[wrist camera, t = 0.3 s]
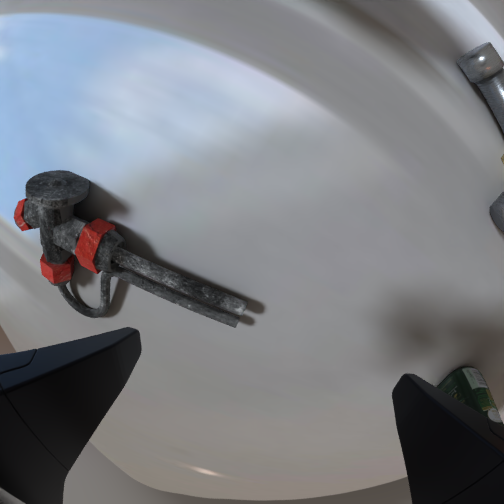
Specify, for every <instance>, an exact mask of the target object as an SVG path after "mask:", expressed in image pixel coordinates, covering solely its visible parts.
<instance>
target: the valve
mask: <svg viewBox="0 0 504 504" xmlns="http://www.w3.org/2000/svg"><path fill="white" fill-rule="evenodd" d="M89 185H90V184H89V181H88V180H87V179H86V178H83V177H81V176H79V175H77V174H74V173H72V172H70V171H61V170H58V171H48V172H44V173H40V174H38V175H35V176H34V177H32V178H31V179H29V181H28V182H27V184H26V197H27V198H26V199H23V200H21V201H19V202H18V205H17V207H16V209H15V212H14V219H15V223H16V225H17V226H18V227H19V228H20V229H21V231H25V230H29V229H33V228H34V229H35V228H39V227H40V239H41V245H42V247H43V255H42V257H41V259H40V263H41V271H42V275H43V276H44V277H46V278H47V279H48V280H49V282H50V283H51V284H52V285H54V286H58V288H59V290H60V292H61V294H62V296H63V297H64V298H65V300H66V301H67V302H68V303H69V304H70V306H72V307H73V308H74V309H75V310H76V311H78V312H79V313H81V314H83V315H85V316H87V317H91V318H98V317H102V316H103V315H105V314H106V313H107V311H108V309H109V304H110V280H111V277H113V276H115V277H118V278H120V279H122V280H125V281H127V282H129V283H131V284H133V285H135V286H137V287H139V288H141V289H144V290H146V291H148V292H150V293H152V294H154V295H157V296H159V297H161V298H163V299H166V300H168V301H170V302H173V303H175V304H177V305H180V306H182V307H184V308H187V309H189V310H191V311H194V312H196V313H199V314H201V315H204V316H206V317H209V318H211V319H214V320H216V321H219V322H221V323H224V324H227V325H229V326H232V327H234V328H235V327H236V326H237V324H238V321H239V317H237V316H234V315H232V314H229V313H227V312H224V311H221V310H219V309H216V308H214V307H211V306H209V305H206V304H204V303H201V302H199V301H197V300H194V299H192V298H189V297H187V296H185V295H182V294H180V293H178V292H175V291H173V290H171V289H168V288H166V287H164V286H162V285H159V284H157V283H155V282H153V281H150V280H148V279H146V278H144V277H142V276H139V275H137V274H135V273H133V272H131V271H129V270H127V269H125V268H122V267H119V265H123V266H125V267H127V268H129V269H131V270H133V271H135V272H137V273H140V274H142V275H144V276H146V277H148V278H151V279H153V280H155V281H157V282H160V283H162V284H164V285H166V286H169V287H171V288H173V289H176V290H178V291H180V292H183V293H185V294H187V295H190V296H192V297H195V298H197V299H199V300H202V301H204V302H207V303H209V304H212V305H214V306H217V307H219V308H222V309H224V310H227V311H229V312H232V313H235V314H237V315H240V316H242V314H243V312H244V310H245V308H246V305H247V301H244V300H242V299H239V298H236V297H234V296H231V295H229V294H226V293H224V292H221V291H219V290H216V289H214V288H211V287H209V286H206V285H204V284H202V283H199V282H197V281H194V280H192V279H190V278H187V277H185V276H182V275H180V274H178V273H175V272H173V271H171V270H168V269H166V268H164V267H162V266H159V265H157V264H155V263H152V262H150V261H148V260H146V259H144V258H141V257H139V256H137V255H135V254H132V253H130V252H128V251H126V242H125V239H124V238H123V237H122V236H120V235H119V234H118V233H117V231H116V226H115V225H113V224H111V223H108V222H106V221H104V220H102V219H99V218H98V219H96V220H94V221H92V222H91V223H89V222H87V221H85V220H83V219H81V218H78V217H76V216H74V215H73V208H74V204H76V203H78V202H80V201H82V200H83V199H85V198H86V196H87V195H88V192H89ZM74 255H76V256H77V258H78V260H79V262H80V264H81V266H83V267H85V268H87V269H89V270H91V271H93V272H94V273H96V274H98V273H99V272H101V271H103V272H102V275H101V304H100V307H99V308H97V309H90V308H87V307H85V306H83V305H82V304H80V303H79V302H78V301H77V300H76V299H75V298H74V297H73V296H72V295H71V293H70V292H69V291H68V289H67V287H66V284H67V283H68V282H69V280H71V278H72V275H73V272H74Z"/></svg>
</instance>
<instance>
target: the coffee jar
mask: <svg viewBox="0 0 504 504" xmlns="http://www.w3.org/2000/svg"><path fill="white" fill-rule="evenodd" d="M437 388H438V389H440V390H441V391H443V392H445V393H446V394H448V395H450V396H451V397H453V398H455V399H456V400H458V401H460V402H461V403H463V404H465V405H466V406H468V407H470V408H472V409H473V410H475V411H477V412H478V413H480V414H482V415H483V416H485V417H488V418H489V419H491V420H493V421H495V422H496V423H498V424H500V425H502V426H504V424H503V422H502V420H501V417H500V415H499V412H498V410H497V407H496V405H495V403H494V400H493V398H492V395H491V393H490V391H489V388H488V386H487V384H486V382H485V380H484V378H483V376H482V374H481V373H480V372H479V371H478V370H477V369H475V368H473V367H463V368H460V369H458V370H455V371H454V372H452V373H451V374H450V375H449V376H448V377H447V378H446V379H445V380H444V381H443V382H442V383H441V384H440V385H439V386H438V387H437Z"/></svg>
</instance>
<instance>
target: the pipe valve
mask: <svg viewBox="0 0 504 504" xmlns="http://www.w3.org/2000/svg"><path fill="white" fill-rule="evenodd" d="M457 63H458V64H459V66H460V67H461V69H462V70H463V71H464V73H465V74H466V76H467V77H468V79H469V80H470V82H475V83H476V84H477V86H478V87H479V89H480V91H481V92H482V94H483V95H484V97H485V99H486V101H487V102H488V104H489V106H490V108H491V109H492V111H493V113H494V115H495V117H496V119H497V120H498V122H499V124H500V126H501V128H502V130H503V133H504V69H503V66H504V62H503V61H502V59H501V57H500V56H499V54H498V53H497V51H496V50H495V48H494V47H493V46H492V44H491V43H490V42H488V43H485V44H482V45H480V46H478V47H476V48H475V49H473V50H471V51H469V52H468V53H466V54H465V55H464V56H462V57H461V58H460V59H459V60H458V61H457ZM501 159H502V161H503V164H504V155H503V156H502V157H501Z"/></svg>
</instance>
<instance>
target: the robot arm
mask: <svg viewBox="0 0 504 504" xmlns="http://www.w3.org/2000/svg"><path fill="white" fill-rule="evenodd" d="M141 350H142V348H141V340H140V333H139V331H138V330H137V329H134V328H130V327H126V328H122V329H118V330H114V331H110V332H106V333H102V334H98V335H94V336H90V337H86V338H82V339H78V340H74V341H70V342H65V343H61V344H57V345H52V346H48V347H43V348H39V349H38V350H37V349H32V350H28V351H22V352H17V353H11V354H4V355H0V504H63V491H64V482H65V479H66V476H67V474H68V472H69V470H70V469H71V467H72V466H73V464H74V463H75V461H76V459H77V458H78V456H79V455H80V453H81V451H82V450H83V448H84V447H85V445H86V444H87V442H88V441H89V439H90V438H91V436H92V434H93V433H94V431H95V430H96V428H97V427H98V425H99V424H100V422H101V421H102V419H103V418H104V416H105V415H106V413H107V412H108V410H109V409H110V407H111V406H112V404H113V403H114V401H115V400H116V398H117V397H118V395H119V394H120V392H121V391H122V389H123V388H124V386H125V384H126V383H127V381H128V379H129V377H130V375H131V373H132V371H133V369H134V367H135V365H136V363H137V361H138V359H139V357H140V355H141ZM392 399H393V405H394V412H395V419H396V426H397V431H398V435H399V439H400V443H401V447H402V452H403V456H404V461H405V466H406V470H407V475H408V481H409V486H410V492H411V498H412V504H504V426H502V425H500V424H498V423H496V422H495V421H493V420H491V419H489V418H488V417H485V416H483V415H482V414H480V413H478V412H477V411H475V410H473V409H472V408H470V407H468V406H466V405H465V404H463V403H461V402H460V401H458V400H456V399H455V398H453V397H451V396H450V395H448V394H446V393H445V392H443V391H441V390H440V389H438V388H436V387H435V386H433V385H431V384H430V383H428V382H426V381H425V380H423V379H422V378H420V377H418V376H417V375H415V374H404V375H402V377H401V378H400V380H399V381H398V383H397V384H396V386H395V387H394V389H393V392H392Z"/></svg>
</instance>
